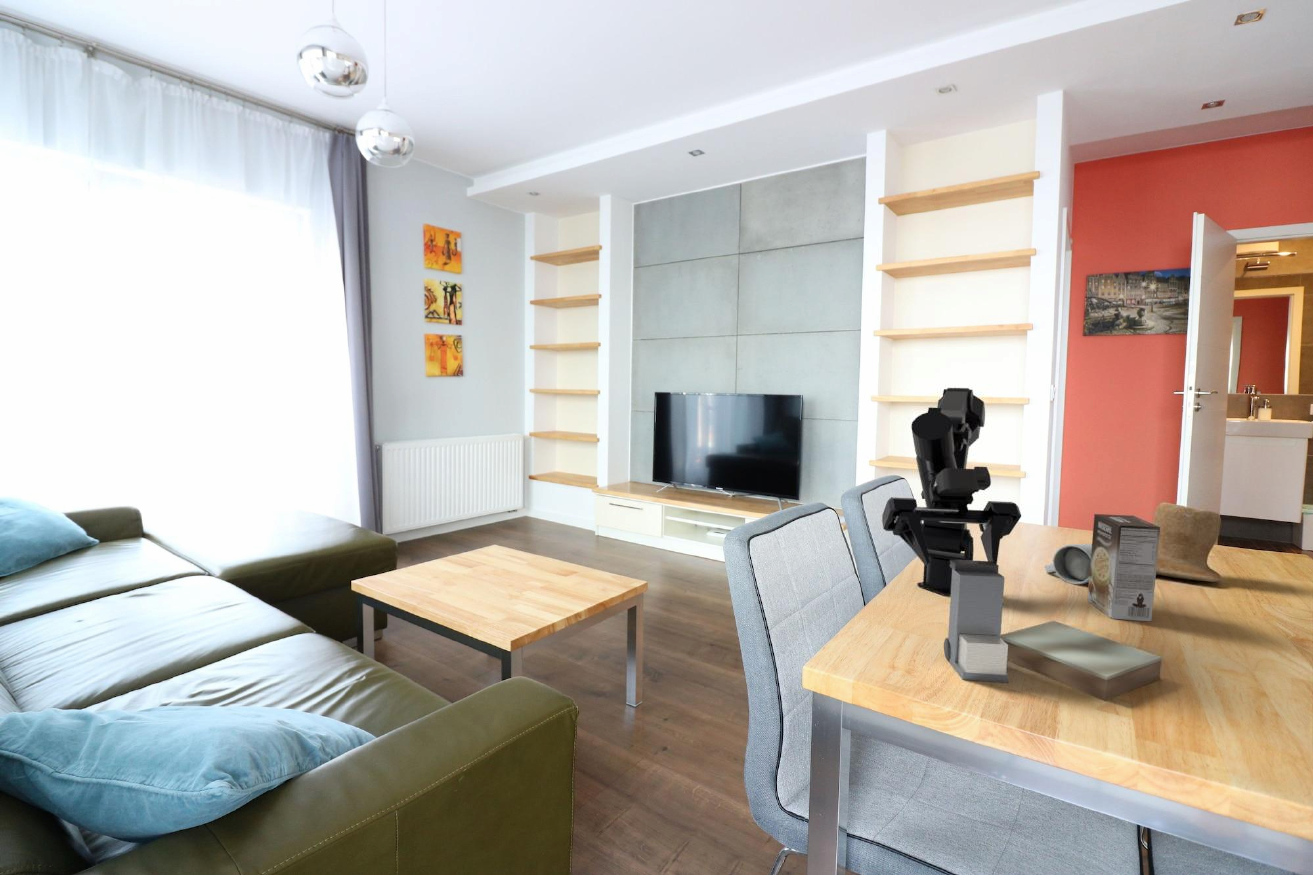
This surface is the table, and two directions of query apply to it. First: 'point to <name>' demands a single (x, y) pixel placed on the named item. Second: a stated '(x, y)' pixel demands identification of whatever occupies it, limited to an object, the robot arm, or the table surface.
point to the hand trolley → (976, 622)
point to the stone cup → (1186, 541)
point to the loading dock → (1082, 659)
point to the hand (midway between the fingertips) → (960, 565)
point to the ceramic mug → (1072, 563)
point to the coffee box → (1123, 566)
